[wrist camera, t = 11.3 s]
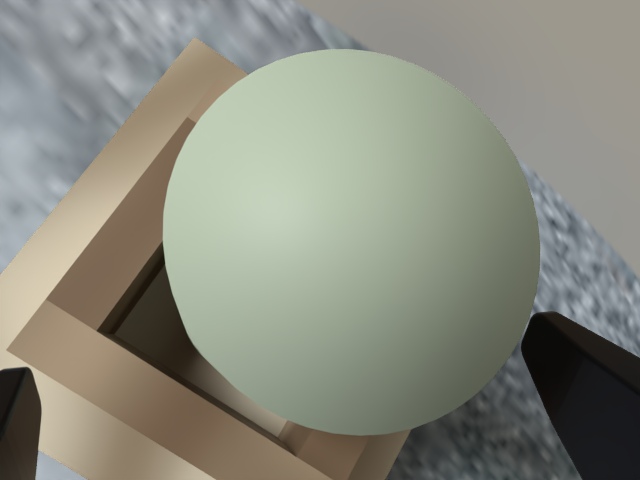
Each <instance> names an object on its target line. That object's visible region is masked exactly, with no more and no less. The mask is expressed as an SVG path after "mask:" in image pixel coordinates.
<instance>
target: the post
mask: <svg viewBox="0 0 640 480" xmlns="http://www.w3.org/2000/svg"><path fill="white" fill-rule="evenodd" d="M163 247H164V256H165V265H166V270H167V274H168V278H169V282H170V286H171V290H172V294H173V297H174V299H175V302H176V305H177V308H178V310H179V313H180V316H181V319H182V321H183V324H184V327H185V329H186V332H187V334H188V337H189V339H190V340H191V342H192V344H193V345H194V347H195V348H196V349H197V351H198V352H199V353H200V354H201V355H202V356H203V357H204V358H205V359H206V360H207V361H208V362H209V363H210V364H211V365H212V366H213V367H214V368H215V369H216V370H217V371H218V372H219V373H220V374H222V375H223V376H224V377H225V378H226V379H227V380H228V381H229V382H230V383H231V384H232V385H233V386H234V387H235V388H236V389H238V390H239V391H240V392H242V393H243V394H244V395H246V396H247V397H248V398H250V399H251V400H252V401H254V402H255V403H256V404H258V405H260V406H261V407H263V408H265V409H267V410H269V411H270V412H272V413H274V414H276V415H278V416H279V417H281V418H284V419H286V420H289V421H292V422H294V423H297V424H299V425H302V426H305V427H307V428H312V429H316V430H320V431H325V432H329V433H334V434H345V435H358V436H364V435H380V434H389V433H394V432H399V431H404V430H409V429H413V428H415V427H418V426H421V425H424V424H426V423H429V422H432V421H435V420H437V419H439V418H440V417H442V416H444V415H446V414H448V413H450V412H452V411H453V410H455V409H457V408H459V407H460V406H461V405H463V404H464V403H465V402H467V401H468V400H469V399H471V398H472V397H473V396H475V395H476V394H477V393H478V392H479V391H480V390H481V389H483V388H484V387H485V386H486V385H487V384H488V383H489V382H490V381H491V380H492V379H493V378H494V377H495V375H496V374H497V373H498V372H499V370H500V369H501V368H502V366H503V365H504V364H505V363H506V361H507V360H508V359H509V357H510V355H511V354H512V352H513V350H514V349H515V347H516V345H517V343H518V342H519V340H520V338H521V336H522V334H523V331H524V329H525V326H526V324H527V322H528V319H529V317H530V314H531V310H532V307H533V303H534V299H535V296H536V291H537V284H538V277H539V271H540V239H539V229H538V221H537V216H536V211H535V207H534V202H533V198H532V195H531V192H530V189H529V186H528V184H527V181H526V178H525V176H524V173H523V171H522V169H521V167H520V165H519V163H518V161H517V158H516V156H515V155H514V153H513V151H512V150H511V148H510V147H509V145H508V143H507V142H506V140H505V138H504V137H503V136H502V134H501V133H500V132H499V130H498V129H497V128H496V126H495V125H494V124H493V123H492V121H491V120H490V119H489V118H488V117H487V116H486V115H485V114H484V113H483V112H482V110H481V109H480V108H478V106H477V105H475V104H474V102H473V101H471V100H470V99H469V98H468V97H466V96H465V95H464V94H463V93H462V92H460V91H459V90H458V89H456V87H454V86H452V85H451V84H450V83H448V82H446V81H445V80H443V79H442V78H440V77H438V76H437V75H436V74H434V73H432V72H429V71H427V70H425V69H423V68H421V67H419V66H417V65H415V64H412V63H410V62H407V61H404V60H401V59H398V58H396V57H392V56H388V55H384V54H380V53H375V52H371V51H361V50H351V49H335V50H320V51H313V52H307V53H301V54H297V55H294V56H291V57H287V58H284V59H280V60H278V61H275V62H273V63H271V64H269V65H266V66H264V67H262V68H260V69H257V70H256V71H254V72H252V73H251V74H249V75H248V76H246V77H244V78H243V79H241V80H240V81H238V82H236V83H235V84H234V85H233V86H232V87H230V88H229V89H228V90H227V91H226V92H225V93H223V94H222V95H221V96H220V97H219V98H217V100H216V101H215V102H214V103H213V104H212V105H211V106H210V107H209V108H208V110H207V111H206V112H205V113H204V114H203V115H202V116H201V118H200V119H199V121H198V122H197V124H196V125H195V127H194V128H193V130H192V131H191V132H190V134H189V135H188V137H187V139H186V141H185V143H184V145H183V147H182V149H181V151H180V153H179V155H178V157H177V159H176V162H175V165H174V168H173V171H172V175H171V178H170V181H169V184H168V188H167V194H166V200H165V206H164V212H163Z"/></svg>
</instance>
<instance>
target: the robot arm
mask: <svg viewBox="0 0 640 480" xmlns="http://www.w3.org/2000/svg"><path fill="white" fill-rule="evenodd" d="M521 351H522V355H523V358H524V360H525V363H526V365H527V367H528V370H529V372H530V374H531V377H532V379H533V381H534V384H535V386H536V388H537V391H538V393H539V395H540V398H541V400H542V402H543V405H544V407H545V409H546V412H547V414H548V416H549V418H550V420H551V423H552V425H553V427H554V429H555V430H556V432H557V434H558V436H559V438H560V440H561V442H562V443H563V445H564V447H565V449H566V451H567V452H568V454H569V456H570V458H571V460H572V462H573V463H574V465H575V467H576V469H577V471H578V472H579V474H580V476H581V478H582V480H640V358H639V357H638V356H636V355H634V354H632V353H630V352H628V351H627V350H625V349H623V348H621V347H619V346H617V345H616V344H614V343H612V342H610V341H608V340H607V339H605V338H603V337H601V336H599V335H597V334H596V333H594V332H592V331H590V330H588V329H587V328H585V327H583V326H581V325H579V324H577V323H576V322H574V321H572V320H570V319H568V318H567V317H565V316H563V315H561V314H559V313H557V312H554V311H548V312H539V313H535V314H534V315H533V316H532V317H531V319H530V322H529V324H528V327H527V330H526V332H525V335H524V337H523V340H522V343H521ZM41 416H42V407H41V400H40V396H39V393H38V390H37V386H36V383H35V379H34V376H33V373H32V371H31V369H30V368H29V367H15V368H6V369H2V370H0V480H35V476H36V466H37V456H38V446H39V436H40V426H41Z"/></svg>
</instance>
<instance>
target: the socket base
mask: <svg viewBox="0 0 640 480" xmlns="http://www.w3.org/2000/svg"><path fill="white" fill-rule="evenodd" d="M248 75H249V74H247V73H246V72H245V71H243V70H242V69H240V68H239V67H237V66H236V65H234V64H233V63H232V62H230V61H229V60H227V59H226V58H224V57H223V56H221V55H220V54H219V53H217V52H216V51H214V50H213V49H211V48H210V47H208V46H207V45H206V44H204V43H203V42H201V41H200V40H198V39H197V38H195V37H194V38H193V39H192V41H191V42H190V43H189V44H188V45H187V47H186V48H185V49H184V50H183V52H182V53H181V54H180V55H179V57H178V58H177V59H176V60H175V61H174V63H173V64H172V65H171V66H170V68H169V69H168V70H167V71H166V72H165V74H164V75H163V76H162V77H161V79H160V80H159V81H158V82H157V83H156V85H155V86H154V87H153V88H152V90H151V91H150V92H149V93H148V95H147V96H146V97H145V98H144V99H143V101H142V102H141V103H140V104H139V106H138V107H137V108H136V109H135V110H134V112H133V113H132V114H131V115H130V117H129V118H128V119H127V120H126V121H125V123H124V124H123V125H122V126H121V128H120V129H119V130H118V131H117V133H116V134H115V135H114V136H113V137H112V139H111V140H110V141H109V142H108V144H107V145H106V146H105V147H104V148H103V150H102V151H101V152H100V153H99V155H98V156H97V157H96V158H95V159H94V161H93V162H92V163H91V164H90V166H89V167H88V168H87V169H86V171H85V172H84V173H83V174H82V175H81V177H80V178H79V179H78V180H77V182H76V183H75V184H74V185H73V186H72V188H71V189H70V190H69V191H68V193H67V194H66V195H65V196H64V197H63V199H62V200H61V201H60V202H59V204H58V205H57V206H56V207H55V209H54V210H53V211H52V212H51V213H50V215H49V216H48V217H47V218H46V220H45V221H44V222H43V223H42V224H41V226H40V227H39V228H38V229H37V231H36V232H35V233H34V234H33V235H32V237H31V238H30V239H29V240H28V242H27V243H26V244H25V245H24V247H23V248H22V249H21V250H20V251H19V253H18V254H17V255H16V256H15V258H14V259H13V260H12V261H11V262H10V264H9V265H8V266H7V267H6V269H5V270H4V271H3V272H2V273H1V275H0V370H2V369H6V368H15V367H29V368H30V369H31V371H32V373H33V376H34V379H35V383H36V386H37V390H38V393H39V396H40V400H41V407H42V416H41V426H40V436H39V446H38V450H40V451H41V452H43V453H45V454H46V455H48V456H50V457H51V458H53V459H55V460H56V461H58V462H60V463H61V464H63V465H65V466H66V467H68V468H70V469H71V470H73V471H75V472H76V473H78V474H80V475H81V476H83V477H84V478H86V479H88V480H385V479H386V477H387V475H388V473H389V472H390V470H391V468H392V466H393V464H394V462H395V460H396V458H397V456H398V454H399V452H400V450H401V448H402V446H403V445H404V443H405V441H406V439H407V437H408V435H409V433H410V431H411V429H409V430H404V431H399V432H394V433H389V434H380V435H364V436H358V435H345V434H334V433H329V432H325V431H320V430H316V429H312V428H307V427H305V426H302V425H299V424H297V423H294V422H292V421H289V420H286V419H284V418H281V417H279V416H278V415H276V414H274V413H272V412H270V411H269V410H267V409H265V408H263V407H261V406H260V405H258V404H256V403H255V402H254V401H252V400H251V399H250V398H248V397H247V396H246V395H244V394H243V393H242V392H240V391H239V390H238V389H236V388H235V387H234V386H233V385H232V384H231V383H230V382H229V381H228V380H227V379H226V378H225V377H224V376H223V375H222V374H220V373H219V372H218V371H217V370H216V369H215V368H214V367H213V366H212V365H211V364H210V363H209V362H208V361H207V360H206V359H205V358H204V357H203V356H202V355H201V354H200V353H199V352H198V351H197V349H196V348H195V347H194V345H193V344H192V342H191V340H190V339H189V337H188V334H187V332H186V329H185V327H184V324H183V321H182V319H181V316H180V313H179V310H178V308H177V305H176V302H175V299H174V297H173V294H172V290H171V286H170V282H169V278H168V274H167V270H166V265H165V256H164V247H163V212H164V206H165V200H166V194H167V188H168V184H169V181H170V178H171V175H172V171H173V168H174V165H175V162H176V159H177V157H178V155H179V153H180V151H181V149H182V147H183V145H184V143H185V141H186V139H187V137H188V135H189V134H190V132H191V131H192V130H193V128H194V127H195V125H196V124H197V122H198V121H199V119H200V118H201V116H202V115H203V114H204V113H205V112H206V111H207V110H208V108H209V107H210V106H211V105H212V104H213V103H214V102H215V101H216V100H217V98H219V97H220V96H221V95H222V94H223V93H225V92H226V91H227V90H228V89H229V88H230V87H232V86H233V85H234V84H235V83H236V82H238V81H240V80H241V79H243V78H244V77H246V76H248Z"/></svg>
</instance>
